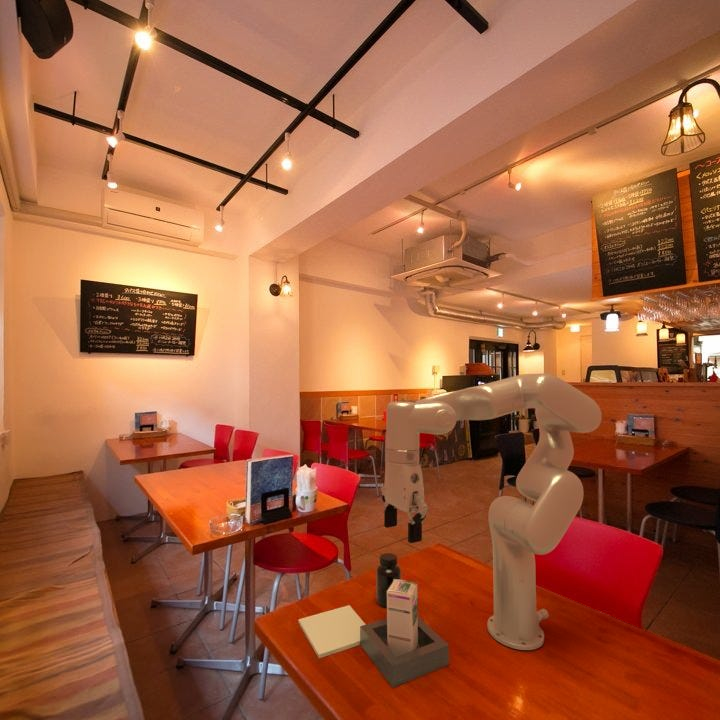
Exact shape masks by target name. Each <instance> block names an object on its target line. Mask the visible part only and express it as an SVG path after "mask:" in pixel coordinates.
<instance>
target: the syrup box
mask: <svg viewBox="0 0 720 720" xmlns="http://www.w3.org/2000/svg"><path fill="white" fill-rule="evenodd" d="M418 599H419V598H418V583H417V582H414V581H412V580H411V581H410V580H407V579H401V580H398V579H394V580H393V582H392V584H391V585H390V587H389V589H388V590H387V608H386V618H387V642H386V646H387V647H388V648H389V649H390V650H391V652H392V653H393V654H394V655H395V656H399V655H402V654H404V653H407V652H410V651H413V650H415V649H418V648H420V645H419V644H418V617H419V607H418V606H419V605H418V604H419V603H418V601H419V600H418Z"/></svg>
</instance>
